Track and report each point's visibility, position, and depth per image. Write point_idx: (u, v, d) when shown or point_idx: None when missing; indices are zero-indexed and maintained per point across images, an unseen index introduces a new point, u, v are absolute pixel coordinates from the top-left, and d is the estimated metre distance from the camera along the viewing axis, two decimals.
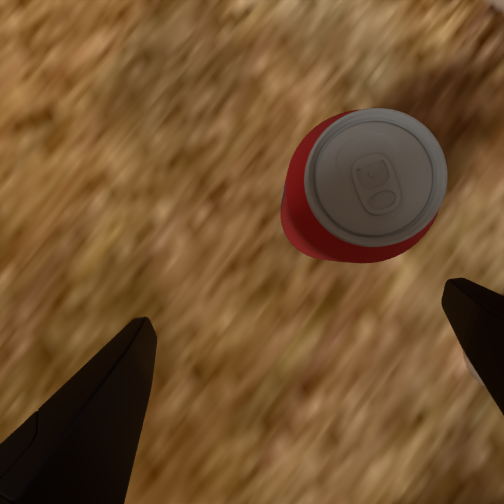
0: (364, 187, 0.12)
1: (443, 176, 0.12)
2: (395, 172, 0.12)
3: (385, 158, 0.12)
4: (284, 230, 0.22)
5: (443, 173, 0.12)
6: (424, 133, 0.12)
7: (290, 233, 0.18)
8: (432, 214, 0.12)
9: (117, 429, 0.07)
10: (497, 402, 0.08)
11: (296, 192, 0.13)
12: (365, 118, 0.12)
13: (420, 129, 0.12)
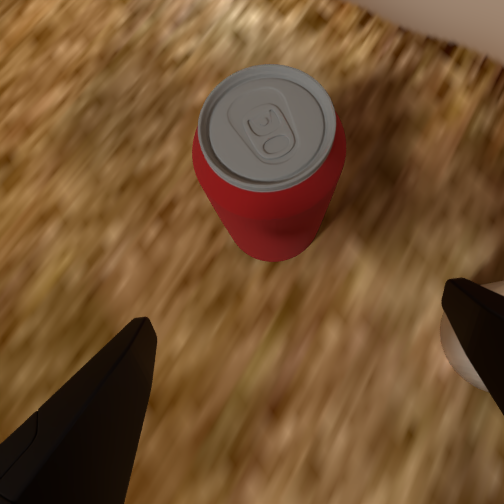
0: (257, 135, 0.12)
1: (331, 114, 0.12)
2: (286, 118, 0.12)
3: (274, 107, 0.12)
4: None
5: (331, 112, 0.12)
6: (307, 80, 0.12)
7: (223, 223, 0.18)
8: (326, 149, 0.12)
9: (117, 429, 0.07)
10: (497, 402, 0.08)
11: (197, 154, 0.13)
12: (252, 76, 0.13)
13: (303, 77, 0.12)
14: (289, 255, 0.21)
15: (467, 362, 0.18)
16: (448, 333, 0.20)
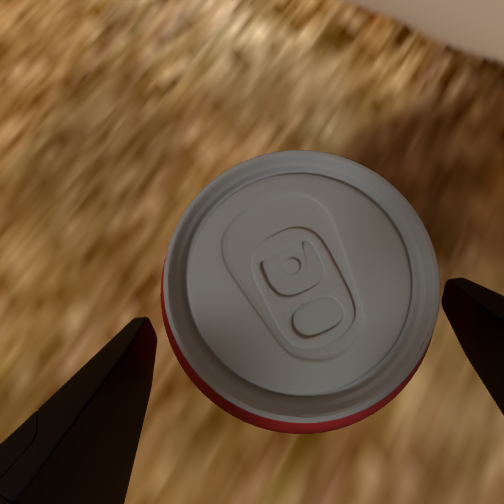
0: (280, 294, 0.06)
1: (428, 260, 0.06)
2: (335, 260, 0.06)
3: (311, 235, 0.06)
4: None
5: (427, 254, 0.06)
6: (376, 184, 0.06)
7: None
8: (424, 340, 0.06)
9: (117, 429, 0.07)
10: (497, 402, 0.08)
11: (166, 310, 0.07)
12: (267, 170, 0.07)
13: (367, 178, 0.06)
14: None
15: None
16: None
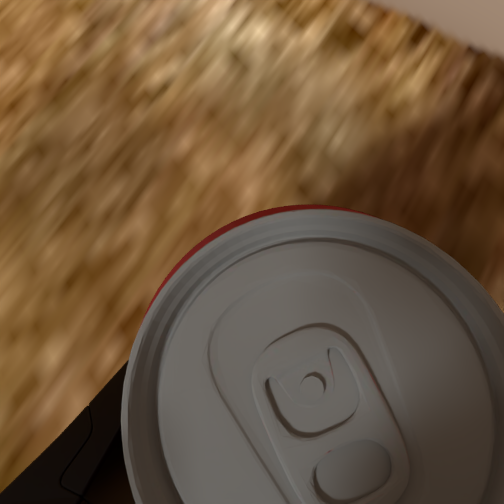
0: (296, 431, 0.04)
1: None
2: (377, 379, 0.04)
3: (341, 338, 0.04)
4: None
5: None
6: (436, 263, 0.04)
7: None
8: None
9: None
10: None
11: None
12: (274, 235, 0.05)
13: (423, 254, 0.04)
14: None
15: None
16: None
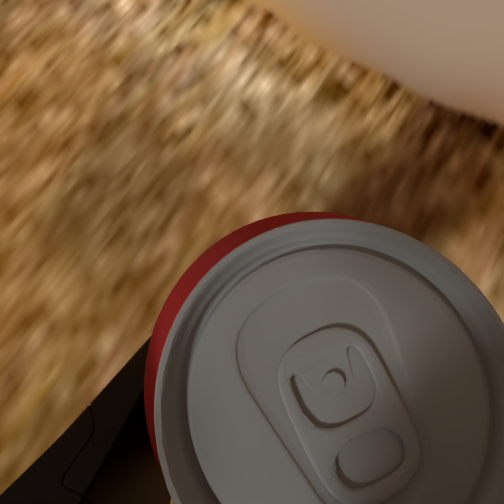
0: (319, 424, 0.05)
1: None
2: (392, 374, 0.05)
3: (358, 337, 0.05)
4: None
5: None
6: (442, 271, 0.05)
7: None
8: None
9: None
10: None
11: (153, 428, 0.05)
12: (296, 241, 0.05)
13: (430, 262, 0.05)
14: None
15: None
16: None
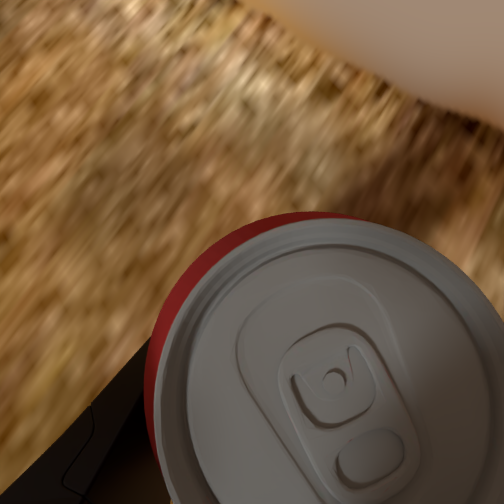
0: (318, 423, 0.05)
1: None
2: (391, 374, 0.05)
3: (358, 337, 0.05)
4: None
5: None
6: (442, 270, 0.05)
7: None
8: None
9: None
10: None
11: (153, 428, 0.05)
12: (296, 241, 0.05)
13: (431, 261, 0.05)
14: None
15: None
16: None
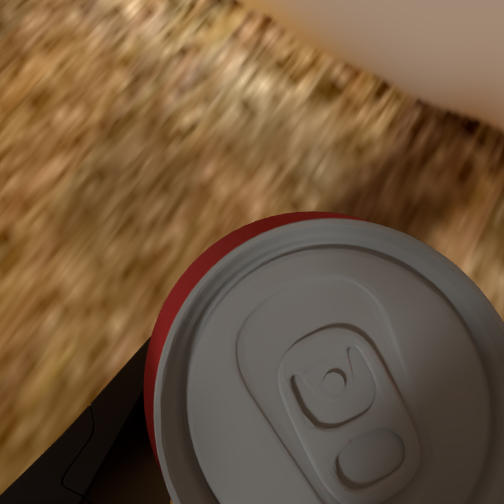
0: (318, 423, 0.05)
1: None
2: (392, 374, 0.05)
3: (358, 337, 0.05)
4: None
5: None
6: (442, 270, 0.05)
7: None
8: None
9: None
10: None
11: (153, 428, 0.05)
12: (296, 241, 0.05)
13: (431, 261, 0.05)
14: None
15: None
16: None
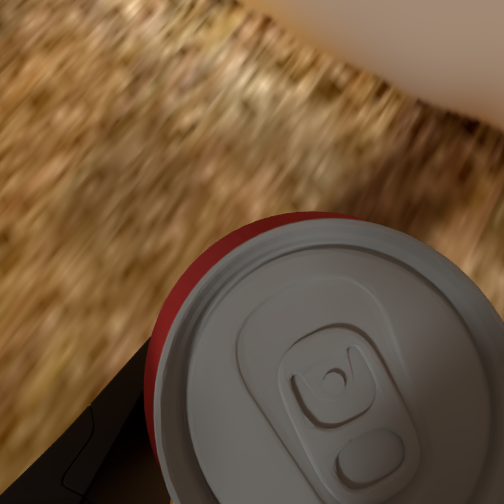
0: (319, 423, 0.05)
1: None
2: (392, 374, 0.05)
3: (358, 337, 0.05)
4: None
5: None
6: (442, 270, 0.05)
7: None
8: None
9: None
10: None
11: (153, 428, 0.05)
12: (296, 241, 0.05)
13: (431, 261, 0.05)
14: None
15: None
16: None
